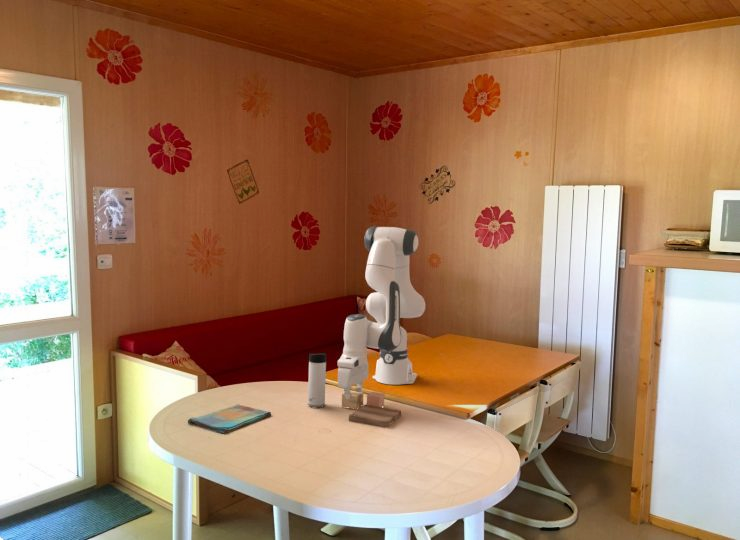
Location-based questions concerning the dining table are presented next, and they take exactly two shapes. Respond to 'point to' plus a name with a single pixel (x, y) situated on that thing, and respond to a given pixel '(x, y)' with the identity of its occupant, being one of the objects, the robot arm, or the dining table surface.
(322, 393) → the travel mug
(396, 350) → the robot arm
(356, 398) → the oak block
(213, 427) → the dish towel
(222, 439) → the dining table surface
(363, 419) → the base board
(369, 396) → the terracotta block
